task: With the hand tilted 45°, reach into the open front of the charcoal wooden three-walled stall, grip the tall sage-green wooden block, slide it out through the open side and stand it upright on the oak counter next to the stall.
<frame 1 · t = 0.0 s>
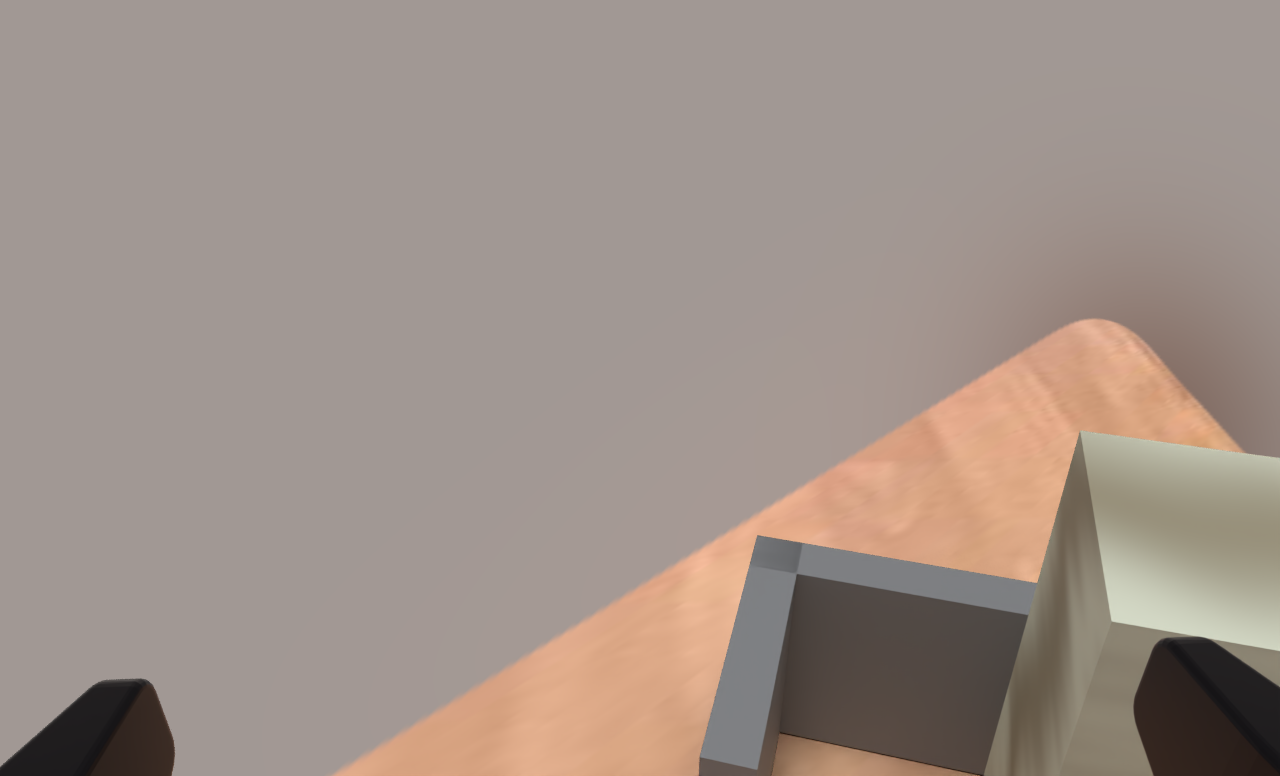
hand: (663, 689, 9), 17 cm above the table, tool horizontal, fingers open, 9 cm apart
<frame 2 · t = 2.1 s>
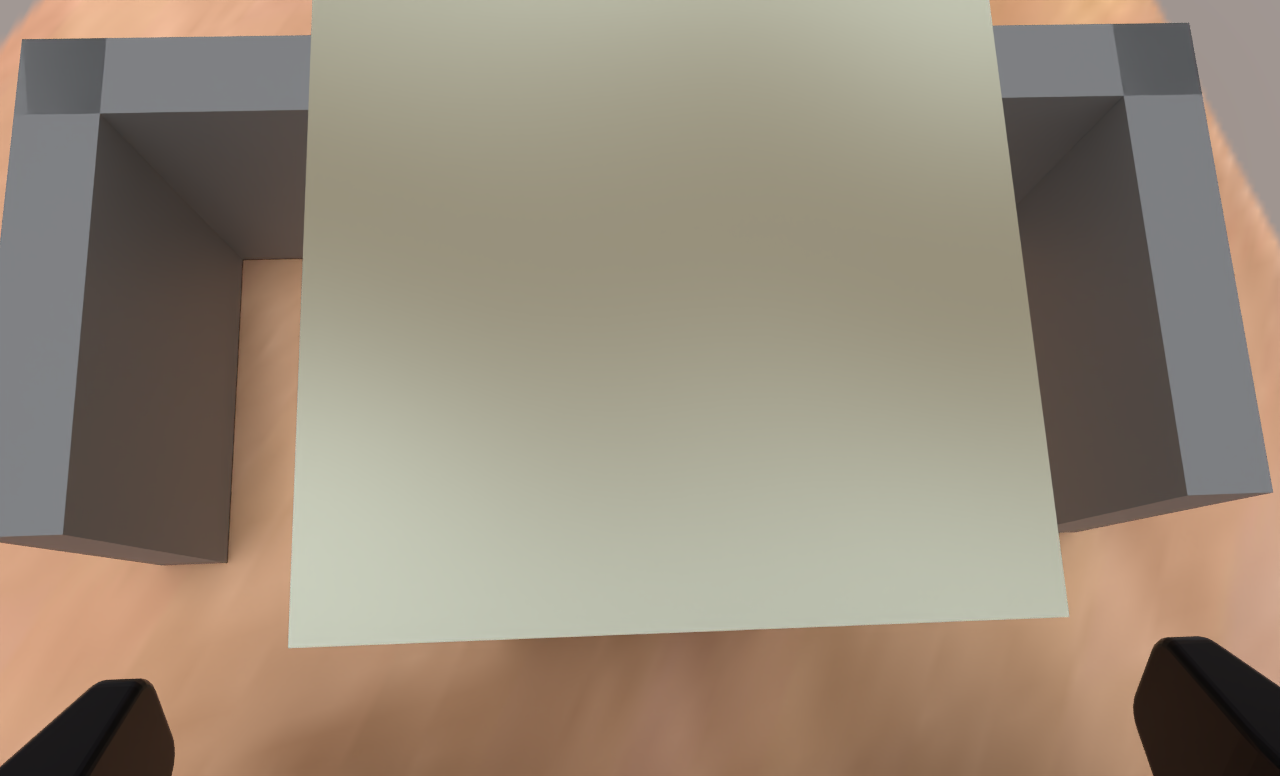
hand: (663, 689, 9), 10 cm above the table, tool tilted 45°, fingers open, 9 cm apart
stall: (625, 495, 20), on the table
sage block: (636, 434, 13), in the stall
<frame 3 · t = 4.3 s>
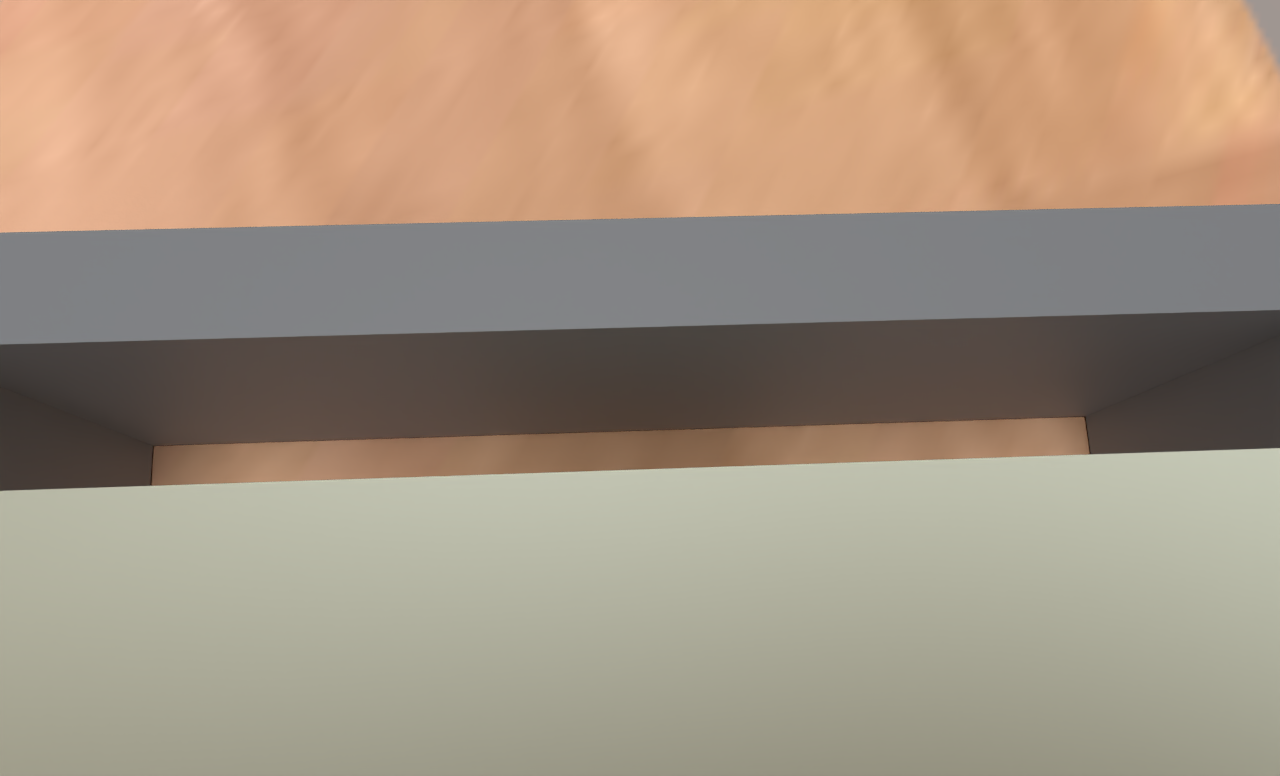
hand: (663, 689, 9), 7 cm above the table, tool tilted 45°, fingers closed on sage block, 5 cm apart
stall: (640, 758, 15), on the table
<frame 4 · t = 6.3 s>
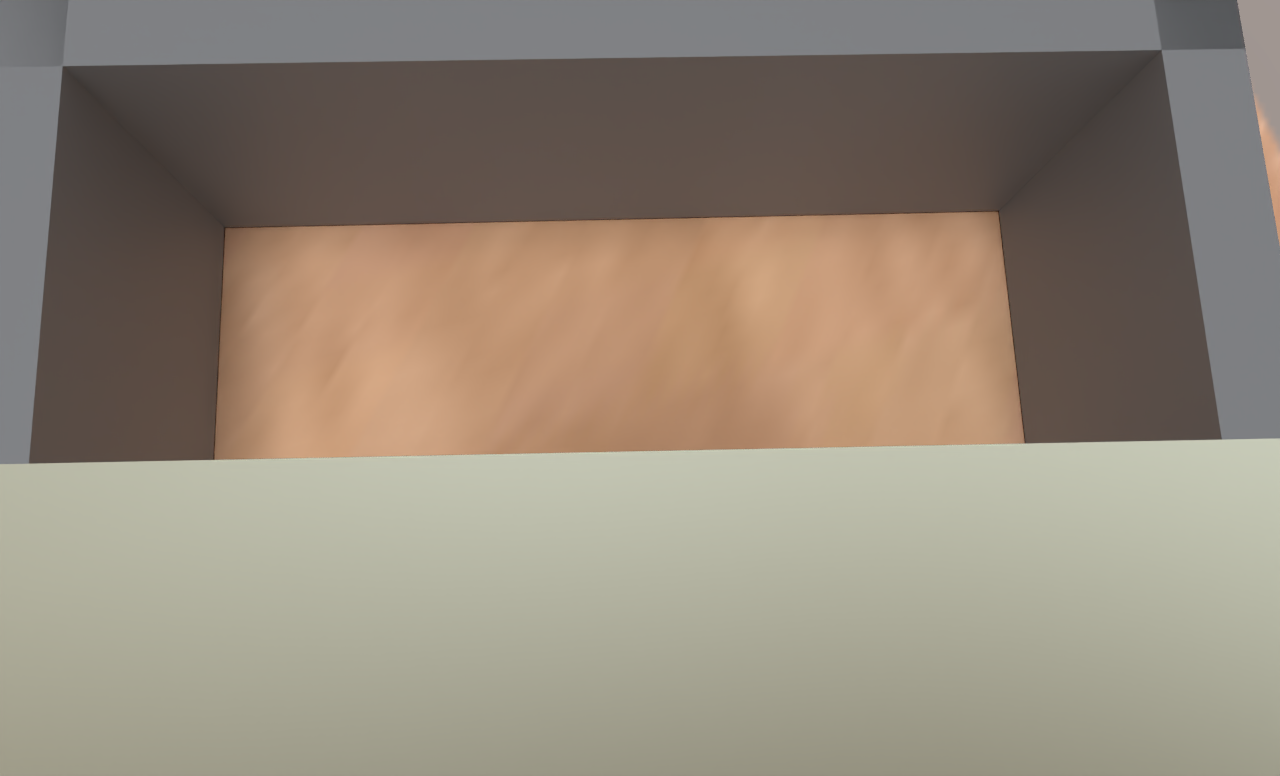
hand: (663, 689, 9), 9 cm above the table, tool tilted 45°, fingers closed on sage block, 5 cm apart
stall: (626, 476, 19), on the table
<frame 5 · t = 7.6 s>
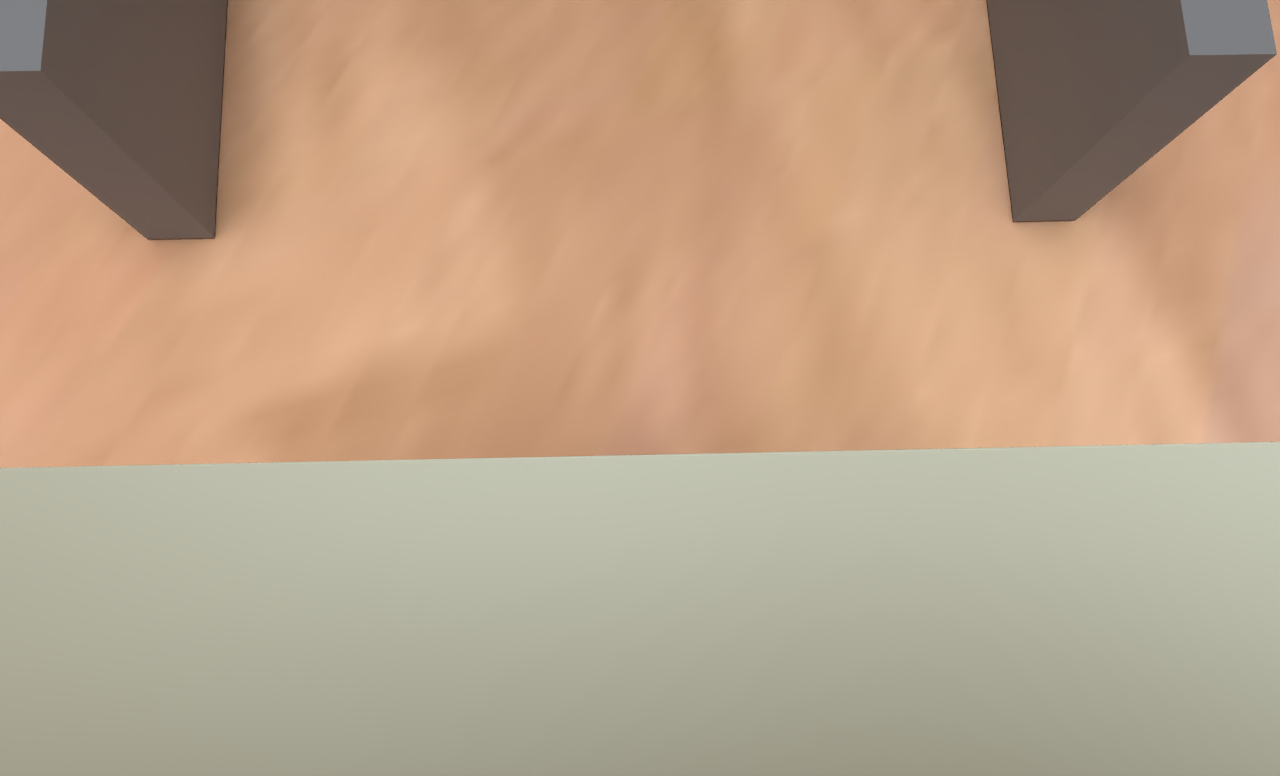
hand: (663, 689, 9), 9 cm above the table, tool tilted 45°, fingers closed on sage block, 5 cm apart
stall: (618, 179, 19), on the table
when the fingers open (7 cm above the table, at t = 8.6 s): sage block stays where it is, on the table.
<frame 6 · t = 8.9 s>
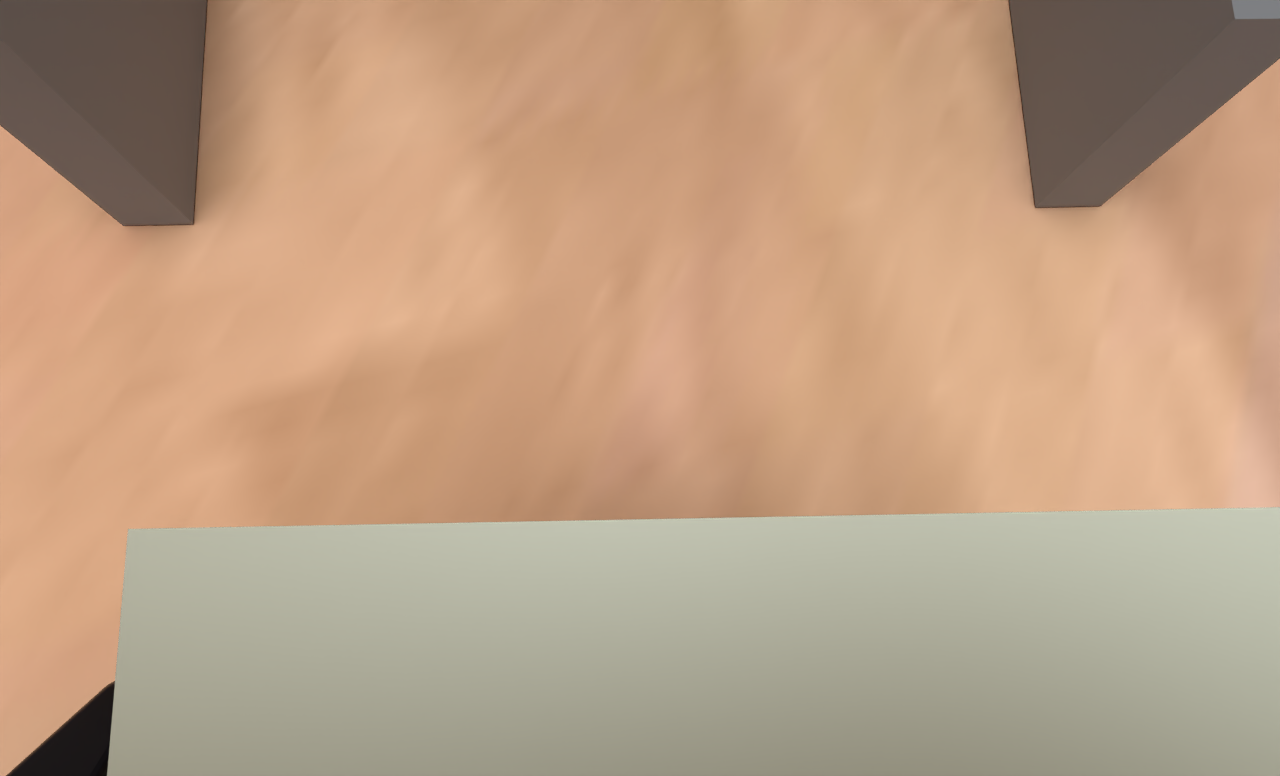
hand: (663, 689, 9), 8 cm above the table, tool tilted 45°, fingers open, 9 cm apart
stall: (620, 163, 18), on the table
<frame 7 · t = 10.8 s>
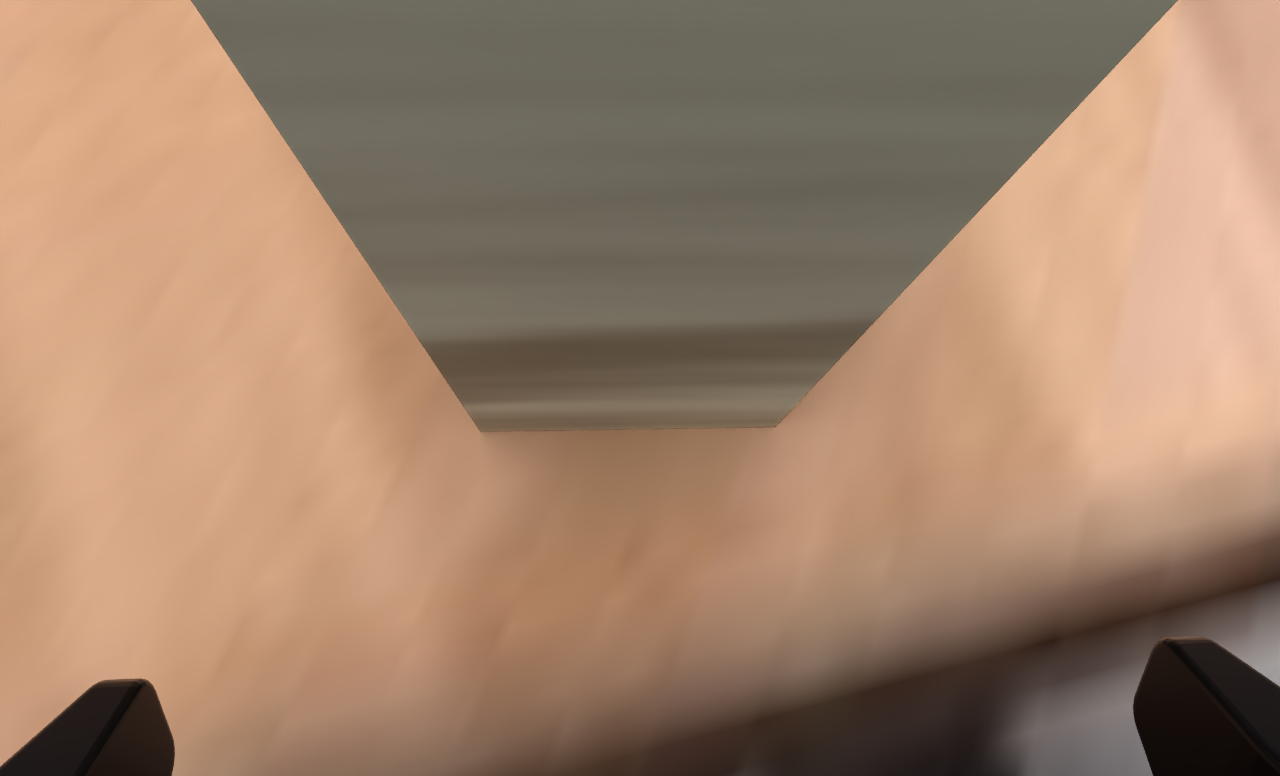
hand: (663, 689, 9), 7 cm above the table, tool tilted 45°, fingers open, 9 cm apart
sage block: (639, 110, 12), on the table
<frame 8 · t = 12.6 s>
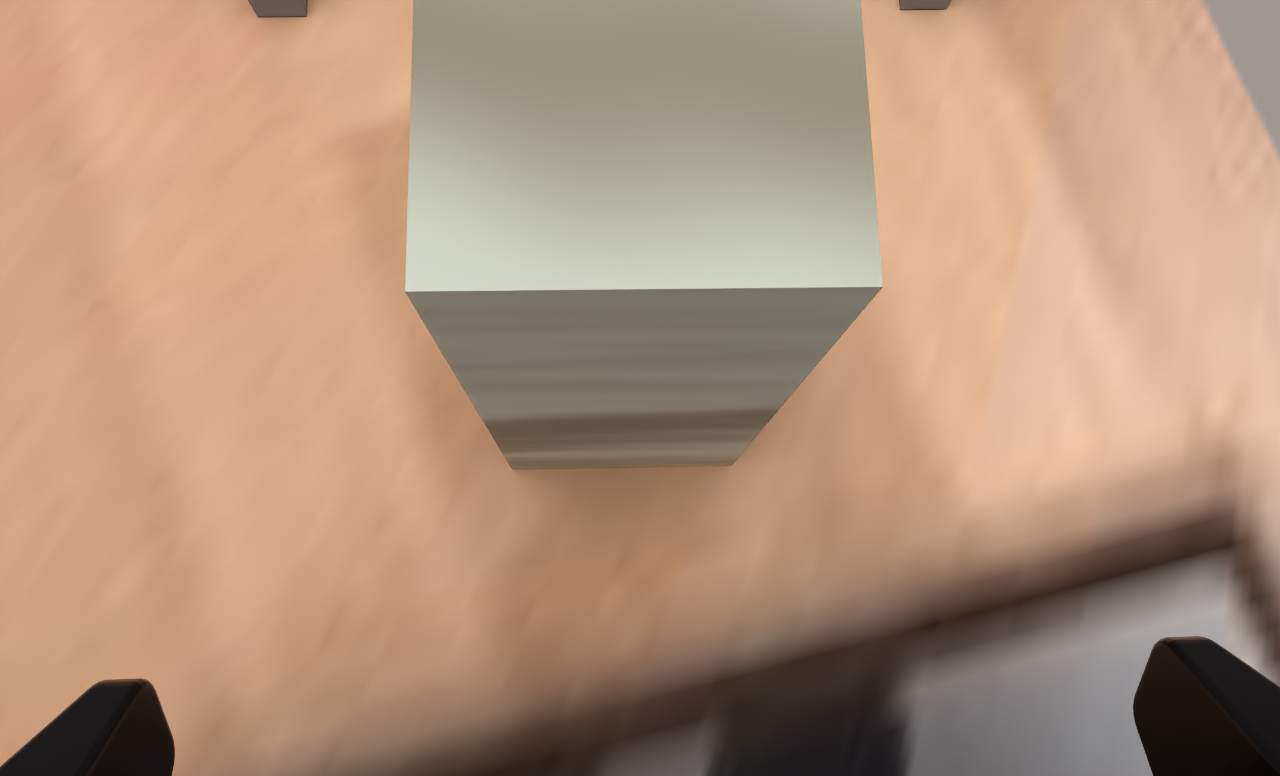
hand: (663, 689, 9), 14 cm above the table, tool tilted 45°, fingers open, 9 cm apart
sage block: (626, 268, 18), on the table
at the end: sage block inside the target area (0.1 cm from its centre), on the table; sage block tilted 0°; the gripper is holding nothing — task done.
